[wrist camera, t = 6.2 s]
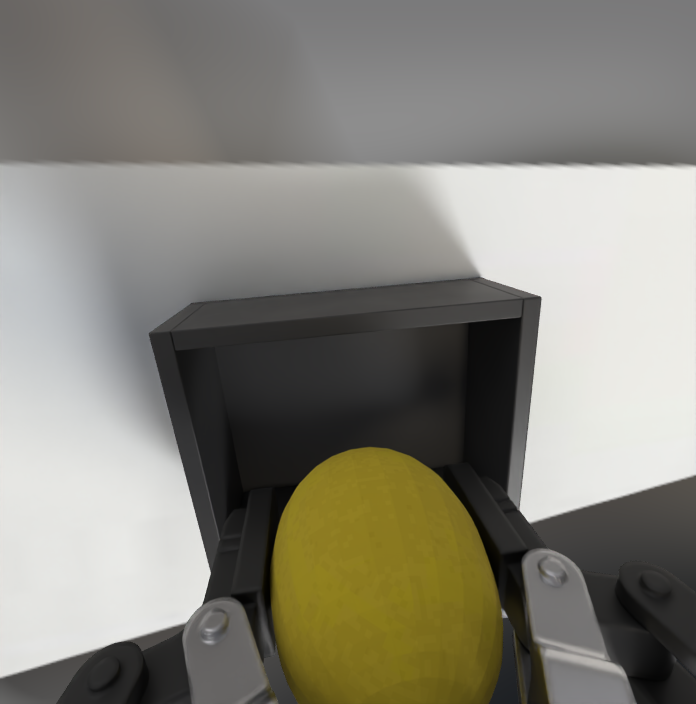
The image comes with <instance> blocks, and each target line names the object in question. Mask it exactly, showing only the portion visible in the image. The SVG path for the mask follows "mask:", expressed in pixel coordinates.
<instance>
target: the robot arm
mask: <svg viewBox="0 0 696 704" xmlns="http://www.w3.org/2000/svg"><path fill="white" fill-rule="evenodd" d="M444 482H445V483H446V484H447V485H448V487H449V488H450V489H451V490H452V491H453V493H454V494H455V495H456V496H457V498H458V499H459V500H460V501H461V503H462V504H463V505H464V507H465V508H466V510H467V512H468V513H469V515H470V516H471V518H472V520H473V522H474V524H475V526H476V528H477V530H478V533H479V535H480V538H481V540H482V543H483V546H484V548H485V551H486V554H487V556H488V559H489V562H490V565H491V568H492V571H493V574H494V578H495V581H496V585H497V589H498V593H499V599H500V604H501V610H502V618H507V617H508V618H509V620H510V622H511V624H512V626H513V648H514V658H515V668H516V677H517V687H518V697H519V704H636V703H637V704H696V679H695V678H694V677H693V676H692V675H691V674H690V673H689V672H688V671H687V670H686V669H685V668H684V667H683V666H682V665H681V664H680V663H679V662H678V661H676V659H678V660H679V661H680V662H681V663H682V664H683V665H684V666H685V667H686V668H687V669H688V670H689V671H690V672H691V673H693V675H694V676H696V592H695V591H693V590H692V589H691V588H690V587H688V586H687V585H686V584H684V583H683V582H682V581H681V580H679V579H678V578H677V577H675V576H674V575H672V574H671V573H670V572H668V571H666V570H665V569H662V568H660V567H658V566H656V565H653V564H650V563H647V562H641V561H630V562H626V563H625V564H623V565H622V566H621V567H620V569H619V573H618V576H617V575H610V574H603V573H596V572H589V571H584V570H580V569H579V568H578V567H577V566H576V565H575V563H573V562H572V561H571V560H570V559H569V558H567V557H566V556H564V555H562V554H560V553H558V552H555V551H553V550H549V549H548V548H547V547H546V545H545V544H544V543H543V541H542V540H541V539H540V537H539V536H538V535H537V533H536V532H535V531H534V529H533V528H532V527H531V525H530V524H529V523H528V521H527V520H526V519H525V517H524V516H523V515H522V513H521V512H520V511H519V510H518V509H517V507H516V505H515V504H514V503H513V501H512V500H510V497H509V496H508V495H507V493H506V492H505V491H504V489H503V488H502V487H501V486H500V485H499V484H498V483H496V482H495V481H493V480H492V479H490V478H489V477H487V476H483V477H478V475H477V474H476V472H475V471H474V469H473V468H472V467H471V465H470V464H469V463H467V462H465V463H458V464H450V465H445V467H444ZM279 522H280V518H279V511H278V505H277V499H276V493H275V488H274V487H269V488H262V489H254V490H251V491H250V494H249V499H248V504H247V508H240V509H234V510H233V511H232V513H231V514H230V515H229V517H228V518H227V519H226V521H225V522H224V525H223V528H222V532H221V536H220V541H219V544H218V548H217V553H216V556H215V559H214V563H213V567H212V571H211V575H210V579H209V583H208V587H207V591H206V594H205V598H204V602H203V605H202V606H201V607H200V608H199V609H197V610H196V611H195V612H194V614H193V615H192V616H191V617H190V619H189V620H188V622H187V624H186V626H185V629H183V630H182V631H181V632H180V633H178V634H177V635H175V636H173V637H171V638H169V639H167V640H165V641H163V642H161V643H159V644H157V645H155V646H153V647H151V648H148V649H146V650H144V651H141V649H140V648H139V646H138V645H136V644H135V643H132V642H127V641H125V642H118V643H114V644H112V645H109V646H107V647H105V648H103V649H102V650H100V651H99V652H97V653H96V654H94V655H93V656H92V657H91V658H89V659H88V660H87V661H86V662H85V663H84V664H83V666H82V667H81V668H80V669H79V670H78V672H77V673H76V674H75V676H74V677H73V679H72V680H71V682H70V683H69V685H68V686H67V688H66V690H65V691H64V693H63V694H62V696H61V697H60V699H59V700H58V702H57V704H278V701H277V699H276V696H275V693H274V691H273V690H272V689H271V687H270V684H269V681H268V678H267V675H266V672H265V669H264V667H263V661H264V658H266V657H271V656H275V643H276V639H275V633H274V625H273V616H272V608H271V599H270V565H271V557H272V552H273V547H274V543H275V538H276V534H277V530H278V526H279Z"/></svg>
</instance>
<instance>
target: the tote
mask: <svg viewBox="0 0 696 704" xmlns="http://www.w3.org/2000/svg"><path fill="white" fill-rule="evenodd" d="M540 308H541V297H540V296H537V295H534V294H531V293H527V292H524V291H521V290H518V289H515V288H512V287H509V286H506V285H502V284H499V283H496V282H493V281H490V280H487V279H485V278H471V279H460V280H448V281H437V282H426V283H414V284H403V285H392V286H380V287H369V288H358V289H346V290H335V291H324V292H312V293H301V294H290V295H278V296H267V297H256V298H244V299H233V300H222V301H210V302H199V303H191V304H190V305H189V306H187V307H186V308H184V309H183V310H182V311H180V312H179V313H177V314H176V315H174V316H173V317H172V318H170V319H169V320H167V321H166V322H164V323H163V324H162V325H160V326H159V327H157V328H156V329H154V330H153V331H152V332H150V333H149V337H150V340H151V344H152V348H153V352H154V356H155V360H156V363H157V367H158V371H159V375H160V379H161V383H162V387H163V390H164V394H165V398H166V402H167V406H168V410H169V413H170V417H171V421H172V425H173V429H174V433H175V436H176V440H177V444H178V448H179V452H180V456H181V459H182V463H183V467H184V471H185V475H186V479H187V483H188V486H189V490H190V494H191V498H192V502H193V506H194V509H195V513H196V517H197V521H198V525H199V529H200V532H201V536H202V540H203V544H204V548H205V552H206V555H207V559H208V563H209V567H210V571H212V567H213V563H214V559H215V556H216V553H217V548H218V544H219V541H220V536H221V532H222V528H223V525H224V522H225V521H226V519H227V518H228V517H229V515H230V514H231V513H232V511H233V510H234V509H240V508H247V504H248V499H249V494H250V491H251V490H254V489H262V488H269V487H274V488H275V493H276V499H277V505H278V511H279V518H280V519H281V516H282V514H283V511H284V509H285V507H286V505H287V503H288V502H289V500H290V498H291V496H292V495H293V493H294V491H295V489H296V488H297V486H298V485H299V483H300V482H301V481H302V480H303V479H304V478H305V477H306V476H307V475H308V474H309V473H310V472H311V471H312V470H313V469H314V468H315V467H316V466H318V465H319V464H321V463H322V462H324V461H325V460H327V459H329V458H330V457H332V456H334V455H337V454H339V453H342V452H345V451H348V450H351V449H358V448H365V447H376V448H387V449H391V450H394V451H397V452H400V453H403V454H406V455H409V456H411V457H413V458H415V459H416V460H418V461H419V462H421V463H422V464H424V465H425V466H427V467H428V468H430V469H431V470H433V471H434V472H435V473H436V474H437V475H439V476H440V477H441V479H442V480H443V481H444V467H445V465H450V464H458V463H465V462H467V463H469V464H470V465H471V467H472V468H473V469H474V471H475V472H476V474H477V475H478V477H483V476H487V477H489V478H490V479H492V480H493V481H495V482H496V483H498V484H499V485H500V486H501V487H502V488H503V489H504V491H505V492H506V493H507V495H508V496H509V497H510V500H512V501H513V503H514V504H515V505H516V507H517V509H518V510H519V507H520V498H521V488H522V479H523V469H524V460H525V450H526V441H527V431H528V422H529V412H530V403H531V393H532V384H533V374H534V365H535V356H536V346H537V337H538V327H539V318H540Z"/></svg>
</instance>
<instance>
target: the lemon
mask: <svg viewBox="0 0 696 704" xmlns="http://www.w3.org/2000/svg"><path fill="white" fill-rule="evenodd" d="M270 599H271V608H272V616H273V625H274V633H275V639H276V644H277V650H278V654H279V658H280V662H281V666H282V669H283V672H284V675H285V677H286V680H287V683H288V685H289V687H290V689H291V691H292V693H293V695H294V696H295V698H296V700H297V702H298V704H489V702H490V700H491V697H492V695H493V692H494V689H495V686H496V683H497V681H498V677H499V672H500V668H501V664H502V652H503V621H502V610H501V604H500V599H499V593H498V589H497V585H496V581H495V578H494V574H493V571H492V568H491V565H490V562H489V559H488V556H487V554H486V551H485V548H484V546H483V543H482V540H481V538H480V535H479V533H478V530H477V528H476V526H475V524H474V522H473V520H472V518H471V516H470V515H469V513H468V512H467V510H466V508H465V507H464V505H463V504H462V503H461V501H460V500H459V499H458V498H457V496H456V495H455V494H454V493H453V491H452V490H451V489H450V488H449V487H448V485H447V484H446V483H445V482H444V481H443V480H442V479H441V477H440V476H439V475H437V474H436V473H435V472H434V471H433V470H431V469H430V468H428V467H427V466H425V465H424V464H422V463H421V462H419V461H418V460H416V459H415V458H413V457H411V456H409V455H406V454H403V453H400V452H397V451H394V450H391V449H387V448H376V447H365V448H358V449H351V450H348V451H345V452H342V453H339V454H337V455H334V456H332V457H330V458H329V459H327V460H325V461H324V462H322V463H321V464H319V465H318V466H316V467H315V468H314V469H313V470H312V471H311V472H310V473H309V474H308V475H307V476H306V477H305V478H304V479H303V480H302V481H301V482H300V483H299V485H298V486H297V488H296V489H295V491H294V493H293V495H292V496H291V498H290V500H289V502H288V503H287V505H286V507H285V509H284V511H283V514H282V516H281V519H280V522H279V526H278V530H277V534H276V538H275V543H274V547H273V552H272V557H271V565H270Z"/></svg>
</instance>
